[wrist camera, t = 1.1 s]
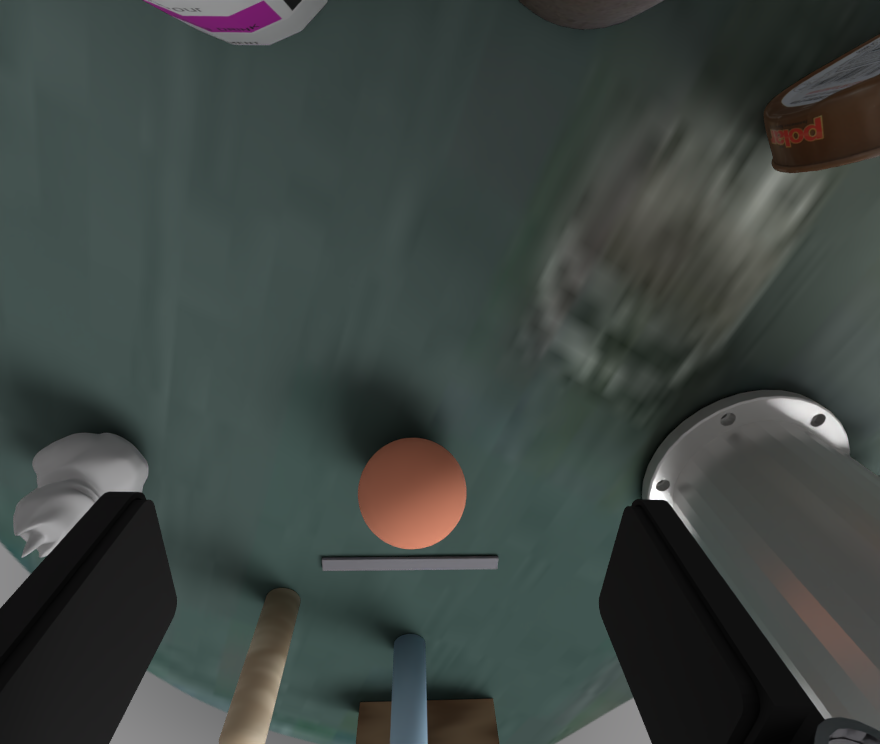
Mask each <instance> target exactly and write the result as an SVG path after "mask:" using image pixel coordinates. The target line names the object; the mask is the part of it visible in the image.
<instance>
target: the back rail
mask: <svg viewBox="0 0 880 744" xmlns="http://www.w3.org/2000/svg"><path fill="white" fill-rule="evenodd" d="M391 704H392V701H390V702H360V707H359V717H358V727H357V737H356V744H390V728H391ZM427 738H428V744H499V738H498V731H497V724H496V717H495V710H494V703H493V699H464V700H427Z"/></svg>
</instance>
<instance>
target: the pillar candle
mask: <svg viewBox="0 0 880 744" xmlns="http://www.w3.org/2000/svg"><path fill="white" fill-rule="evenodd" d="M662 1H664V0H519V2H521V3H522V4H523V5H524V6H526V7H527V8H528V9H529V10H531V11H532V12H533V13H535V14H536V15H538V16H540V17H541V18H543V19H545V20H547V21H549V22H551V23H553V24H556V25H559V26H563V27H569V28H573V29H582V30H583V29H597V28H606V27H608V26H612V25H616V24H619V23H622V22H625V21H627V20H629V19H630V18H632V17H634V16H636V15H638V14H640V13H642V12H644V11H646V10H648V9H649V8H651V7H653V6H655V5H657V4H658V3H660V2H662Z"/></svg>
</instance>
